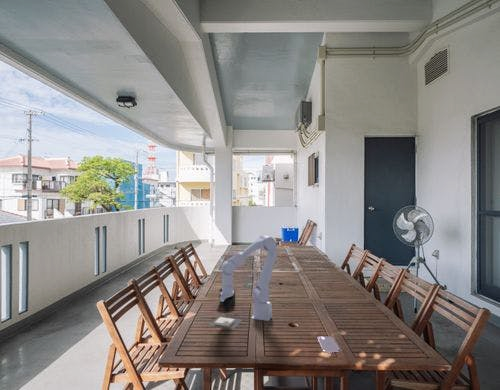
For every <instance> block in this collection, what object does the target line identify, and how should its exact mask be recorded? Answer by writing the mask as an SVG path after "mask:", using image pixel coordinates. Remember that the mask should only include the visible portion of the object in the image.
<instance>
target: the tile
mask: <svg viewBox="0 0 500 390" xmlns="http://www.w3.org/2000/svg"><path fill="white" fill-rule="evenodd" d="M224 317H225V316H222V317H220V318H219V319H218V320H217V321H215V325H220V326H226V327H230V326H231V325H232V324H233V323H234V322H235V319H230V318H231V317H229V318H224Z"/></svg>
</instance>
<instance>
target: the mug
mask: <svg viewBox="0 0 500 390" xmlns="http://www.w3.org/2000/svg"><path fill="white" fill-rule="evenodd" d="M233 290H234V294H233V297H234V298H233V300H232V303H231V307H230V308H232V307H235V306H236V289H235V288H234V287H233ZM221 292H222V288H220V289H219V293H218V294H219V302H218V304H219V306H220V307H223V308H224V305H223V302H222V301H220V297H221V295H220V293H221Z"/></svg>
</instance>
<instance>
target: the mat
mask: <svg viewBox="0 0 500 390" xmlns="http://www.w3.org/2000/svg"><path fill="white" fill-rule="evenodd" d="M220 317H224V318H230V319H235V322H234V323H233V324H232V325H231V326H230V327H226V326H220V325H215V321H217V320H218V319H219V318H220ZM242 321H243V319H240V318H234V317H230V316H229V317H227V316H221V315H218V316H217V317H216V318H215V319H213V320H212V321H211V322H210V323H209V324H208V326H209V327H216V328H221V329H229V330H235V329H236V328H237V326H239V325H240V323H241V322H242Z"/></svg>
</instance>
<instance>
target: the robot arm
mask: <svg viewBox="0 0 500 390" xmlns="http://www.w3.org/2000/svg"><path fill="white" fill-rule="evenodd" d="M260 249H262V250H265V252H266V256H265V257H266V258H265V260H264V263H263V267H262V270H261V273H260V277H259V280H258V282H257V283H256V285H255V287H254V288H253V289H252V295H253V297H254V298H253V315H252V317H251V319H253V320H260V321H266V322H269V321H270V320H271V318H272V317H273V305H272V302H271V301H269V299H270V295H269V293H270V287H269V284H270V280H271V278H272V274H273V270H274V267H275V263H276V260H277V257H278V248H277V241H276V240H275V239H274V237H271V236H269V235H266V234H262V235H260V236H259V237H257V238H256V239H255V240H254V241H253V242H252V243H251V244H249V246H247V248H245V249H244V250H243V251H240V252H234V255H233V256H232V257H230V258H228V259H227V260H226V261H223V262H222V264H221V266H220V270H221V271H222V272H221V289H222V292H221V293H220V295H221V297H220V301H222V302H223V305H224V307H223V309H224V311H225V312H228V313H229V312H230V311H231V308H232V307H231V303H232V300H233V298H234V297H233V294H234V290H233V288H234V272H235V270H236V269H237V268H238V267H239V266H240V265H242V264H243V263H245V262H246V259H247V258H248V256H250V255H251V254H253V253H254V252H255V251H256V250H260Z"/></svg>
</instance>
